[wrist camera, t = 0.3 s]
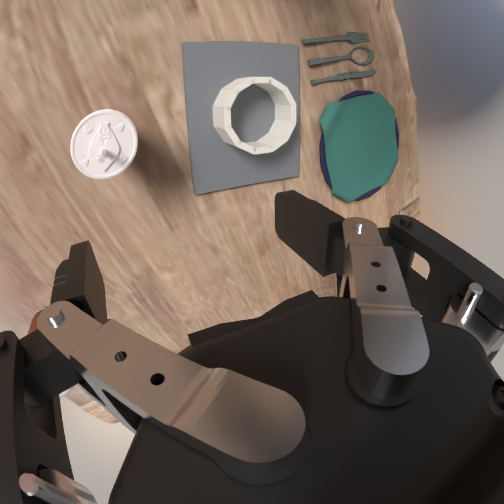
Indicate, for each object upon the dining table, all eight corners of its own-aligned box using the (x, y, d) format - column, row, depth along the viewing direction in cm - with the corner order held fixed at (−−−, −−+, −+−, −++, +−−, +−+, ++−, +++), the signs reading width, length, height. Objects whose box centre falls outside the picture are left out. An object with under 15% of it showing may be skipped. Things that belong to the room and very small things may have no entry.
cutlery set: (322, 214, 50) (331, 219, 49) (285, 38, 33) (294, 35, 31) (394, 177, 55) (402, 180, 53) (375, 32, 38) (385, 31, 36)
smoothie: (81, 163, 30) (64, 197, 19) (81, 110, 27) (61, 113, 16) (131, 158, 32) (142, 190, 22) (133, 107, 30) (145, 108, 19)
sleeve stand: (182, 43, 28) (191, 36, 24) (295, 45, 34) (315, 42, 30) (194, 193, 38) (204, 205, 35) (296, 175, 44) (314, 183, 40)
